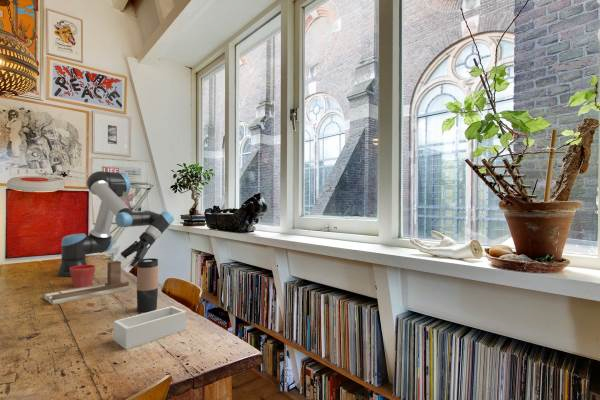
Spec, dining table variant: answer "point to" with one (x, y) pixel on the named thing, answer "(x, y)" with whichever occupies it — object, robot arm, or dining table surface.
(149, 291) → the travel mug
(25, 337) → the dining table surface
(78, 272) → the flower pot
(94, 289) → the birch board
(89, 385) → the dining table surface
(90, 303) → the dining table surface
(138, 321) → the white rectangular planter box
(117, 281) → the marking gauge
